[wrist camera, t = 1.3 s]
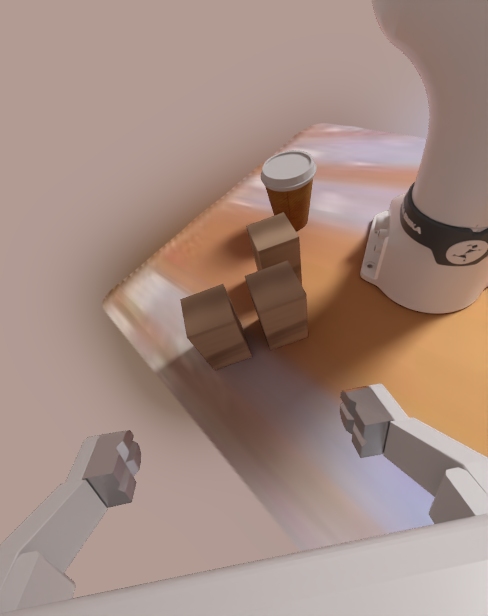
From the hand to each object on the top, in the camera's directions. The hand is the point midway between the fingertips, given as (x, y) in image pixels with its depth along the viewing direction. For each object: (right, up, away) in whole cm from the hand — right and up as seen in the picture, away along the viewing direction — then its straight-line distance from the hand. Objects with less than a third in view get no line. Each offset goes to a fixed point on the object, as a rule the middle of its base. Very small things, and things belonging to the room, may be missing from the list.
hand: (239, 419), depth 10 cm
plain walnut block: (-2, -2, +32) cm, 32 cm away
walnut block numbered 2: (+7, +9, +38) cm, 39 cm away
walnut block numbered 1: (+6, +1, +32) cm, 33 cm away
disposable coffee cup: (+10, +22, +45) cm, 51 cm away
